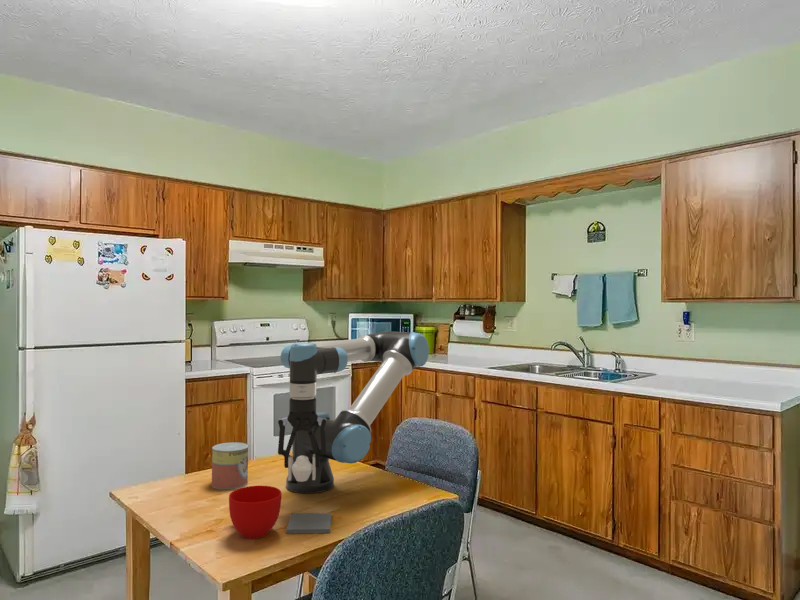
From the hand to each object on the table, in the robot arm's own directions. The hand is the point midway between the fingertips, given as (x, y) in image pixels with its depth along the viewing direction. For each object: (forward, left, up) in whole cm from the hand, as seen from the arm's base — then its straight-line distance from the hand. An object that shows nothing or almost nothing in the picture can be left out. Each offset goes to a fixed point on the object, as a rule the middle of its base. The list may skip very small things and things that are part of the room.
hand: (302, 478), depth 155 cm
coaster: (+11, +3, -9) cm, 14 cm away
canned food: (-24, -25, -9) cm, 36 cm away
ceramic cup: (+14, -11, -9) cm, 20 cm away
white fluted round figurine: (0, 0, -1) cm, 1 cm away
